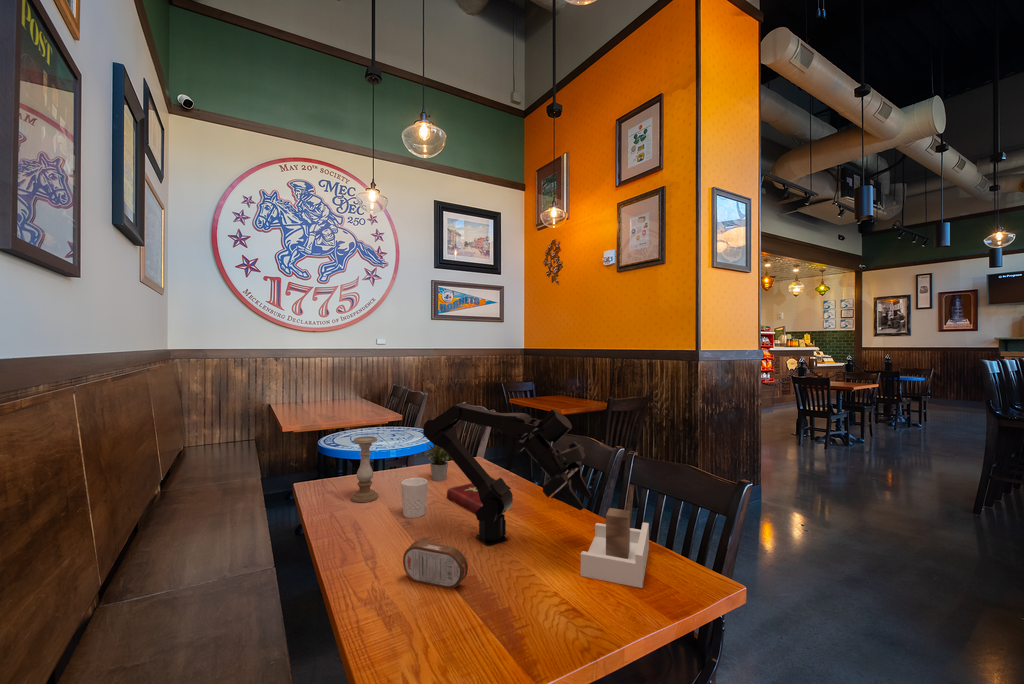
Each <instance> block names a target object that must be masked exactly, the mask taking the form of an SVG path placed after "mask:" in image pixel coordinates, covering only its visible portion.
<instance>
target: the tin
mask: <svg viewBox="0 0 1024 684" xmlns="http://www.w3.org/2000/svg"><path fill="white" fill-rule="evenodd" d="M402 558H403V559H402V564H403V569H404V571H405V573H406V575H407V577H409V578H410V579H411V580H413V581H414V582H418V583H421V584H426V585H430V586H431V585H432V586H435V587H440V588H445V589H454V588H456V587H457V586H459V585H460V584H461V583H462V582H463V581H464V580H465V578H466V577H467V574H468V570H469V565H468V561H467V559H466V556H465V555H464V553H463V552H462V551H461V550H459V548H456V547H455V546H451V545H448V544H447V545H446V544H441V543H436V542H431V541H427V540H416V541H415V542H413V543H411V545H410V546H409V547H408V548H407V549H406V550H405V552H404V553H403V555H402Z"/></svg>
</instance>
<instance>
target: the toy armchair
mask: <svg viewBox="0 0 1024 684" xmlns="http://www.w3.org/2000/svg"><path fill="white" fill-rule="evenodd" d="M649 530H650V523H649V522H642V523H641V529H637V528H633V527H632V528H631V527H630V552H629V556H628V559H624V558H618V557H613V556H607V555H606V523H600V522H596V523H595V524H594V538H593V539H592V542H591V544H590V547H589V548H588V550H587V551H584V550H582V551H581V553H580V577H584V578H588V579H589V578H590V579H594V580H600V581H605V582H609V583H614V584H619V585H623V586H629V587H635V588H640V589H643V588H644V587H643V586H644V581H645V574H646V567H647V563H648V562H647V561H648V556H649V552H650V551H649V547H650V544H649V539H650V538H649V536H650V534H649V533H650V531H649Z"/></svg>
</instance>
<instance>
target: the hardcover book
mask: <svg viewBox="0 0 1024 684" xmlns="http://www.w3.org/2000/svg"><path fill="white" fill-rule="evenodd" d="M446 499H448V500H449V501H451V502H452V503H454V504H456V505H458V506H459V507H462V508H463V509H465V510H467V511H468V510H469V512H471V513H472V514H474V515H476V511H477V510H478V509H480V508H481V507H482V506H483V505H482V503H481V501H480V498H479V494H478V491H477V489H476V487H475V486H474V485H473V484H472V482H470V483H466V484H461V485H457V486H452V487H447V490H446ZM509 509H510V510H512V504H511V505H510V506H509V507H508V508H507V509H506V510H507V511H510V510H509Z"/></svg>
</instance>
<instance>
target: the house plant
mask: <svg viewBox="0 0 1024 684" xmlns="http://www.w3.org/2000/svg"><path fill="white" fill-rule="evenodd" d="M421 441H422V442H425V443H426V445H427V446H429V447H430V448H429V447H427V446H426V448H427V449H428V450H429V452H426V453H425V455H424V456H426V457H428V460H432V461H431V462H430V463H429V464H430V471H431V473H430V474H431V478H432V479H431V480H432V481H435V482H442V481H445V480H446V479H447V474H448V469H449V460H450V456H449V455H448V454H447V452H446V451H445V450H444V449H442V448H440V447H438V446H436V445H434V444H433V443H432V445H433V446H432V445H430V444H431V443H429V442H428V441H425V440H421ZM446 460H448V461H446Z"/></svg>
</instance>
